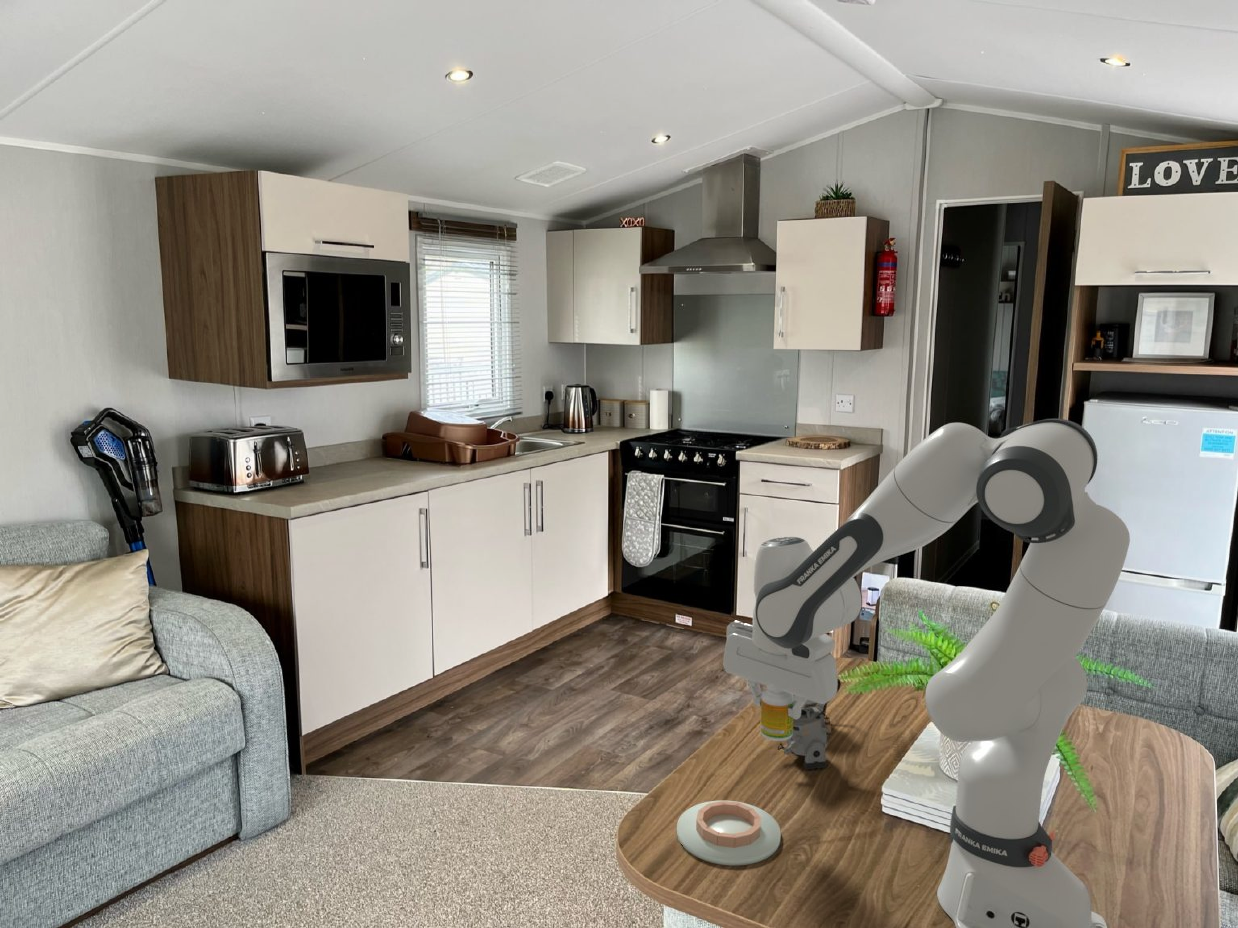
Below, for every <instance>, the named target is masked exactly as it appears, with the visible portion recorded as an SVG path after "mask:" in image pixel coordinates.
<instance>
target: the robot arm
mask: <svg viewBox="0 0 1238 928" xmlns="http://www.w3.org/2000/svg"><path fill="white" fill-rule="evenodd" d="M1097 465H1098V450H1097V446H1096V442H1095V440H1094V439H1093V437H1092V435H1091V434H1090V433H1089V432H1088V431H1087V430H1086V429H1085V428H1084V427H1082V426H1081V425H1080V424H1079V423H1077V422H1074V421H1071V420H1068V419H1064V418H1045V419H1042V420H1041V419H1040V420H1036V421H1033V422H1029V423H1025V424H1022V425H1019V426H1015V427H1011V428H1008V429H1005V430H1004V431H1003V432H1001V435H1000V436H999V438H993V437H990V436H988V435H987V434H986V433H985V432H983V431H982V430H980V429H979V428H977V427H976V426H973V425H971V424H968V423H964V422H949V423H947V424H944V425H943V426H941V427H939V428H937V429H936V430H934V431H933V432H932V433H930V434H929V435H928V436H927V437H926V438H924V439H923V440H922V441H920V442H919V443H917V445H916V446H914V448H912V449H911V450H910V451H909V452H908V453H907V454H906V455H905V456H904V457H903V458H902V459H901V460H900V461H899V462H898V464H896V466H895V467H894V468H893V469H892V470H891V471H890V472H889V473H888V474H887V476H886V477H885V478H884V479H883V480H882V481H881V482H880V484H878V486H877V487H875V489H874V490H873V491H872V492H871V494H870V495H869V496H868V497H867V498H866V499H865V500H864V501H863V502H862V504H861V505H860V506H859V507H857V509H856V510H855V511H853V513H852V514H851V515H850V516H849V517H848V518H847V519H846V520H845V521H844V523H843V524H841V526H840V527H838V528H837V529H836V530H835V531H834V532H832V534H831V535H830V536H829V537H828V538H826V539H825V540H824V541H823V542H822V543H821V544H820V545H819V546H818V547H817V548H816V549H815V550H813V549H812V548H811V546H810V544H809V543H808V541H807V540H805V539H803V538H801V537H797V536H784V537H777V538H772V539H768V540H765V541H764V542H763V543H761V544H760V546H759V548H758V550H757V553H756V557H755V564H754V572H753V573H754V574H753V592H754V593H753V594H754V596H755V597H754V598H755V605H754V607H753V609H752V610H753V612H752V624H751V623H745V622H743V621H740V620H734V621H731V622H730V623H729V624H728V625H727V626H726V642H725V646H724V653H723V662H722V666H723V668H724V670H725V672H726V673H728V674H730V675H733V676H736V677H739V678H742V679H745V680H747V686H748V689H749V690H750V692H751V695H752V696H753V697H752V700H753V701H752V703H753V704H752V705H753V706H757V707H759V708H761V696H762V692H763V691H762V688H761V686H760V685H764V686H765V687H766V686H768V684H769V683H770V684H773V685H775V686H776V688H777V689H778V690H781V691H784V692H787V693H790V694H793V695H794V700H795V701H797V703H796V704H795V705H794V704H793V705H792V706H790V707H789V708H788V717H790V718H793V719H796V720H797V719H798V718H800V716H801V707H802V706H803V705H804V704H805V702H806V701H807V700H811V701H814V702H817V703H819V704H825V703H827V702H828V701H829V702H831V701H832V700H833V699H834V698H835V697H836V695H837V694H838V692H837V686H838V683H837V678H838V665H837V662H836V658H835V656H834V655H833V654H832V653H831V652H832V651H834V650H835V646H836V641H835V639H834V638H833V637H831V636H830V635H828V634H827V633H831V632H832V631H835V630H838V629H840V628H843V627H845V626H847V625H849V624H851V623H853V622H855V621H856V620H857V619H858V617H859V616H860V613H861V612H862V608H863V594H862V590H861V586H860V584H859V582H858V581H857V580H856V578H855V577H856V576H857V575H859V574H860V573H861V572H863V571H865V570H867V569H869V568H870V567H873V566H875V565H878V564H880V563H882V562H885V561H888V560H889V559H893V558H895V557H898V556H901V555H904V554H907V553H910V552H913V551H915V550H919V549H921V548H923V547H925V546H926V545H929V544H930V543H932V542H933V541H934V540H936V539H937V538H938V537H940V536H942V535H943V534H945V533H946V532H947V531H948V530H950V529H951V528H952V527H953V526H954V525H955V524H956V523H957V522H958V521H959V520H960V519H961V518H962V517H963V516H964V515H965V514H966V513H967V512H968V511H969V510H970V509H971V508H972V507H973V506H974V505H976V504H977V503H978V504H979V506H980V509H981V510H982V511H983V513H984V514H985V515H986V517H988V519H990V520H991V521H992V522H993V523H995V524H997V526H999V527H1001V528H1003V530H1006V531H1009V532H1010V533H1013V534H1014V535H1015V536H1016V537H1017V538H1019V539H1020V540H1021V541H1023V542H1025V543H1028V544H1029V545H1028V548H1027V550H1026V552H1025V554H1024V556H1023V557H1022V560H1021V561H1020V564H1019V566H1018V568H1017V571H1016V572H1015V574H1014V576H1013V578H1012V580H1011V583H1010V584H1009V586H1008V587H1007V590H1006V592H1005V593H1004V596H1003V598H1002V600H1001V601H1000V604H998V607H997V608H996V610H995V611H994V612H993V614H992V615H991V616H990V617H989V619H988V620H987V622H985V623H984V625H983V626H982V627H981V628H980V630H979V631H978V632H977V633H976V634H975V635H974V637H973V638H972V639H971V640H969V642H968V644H967V645H966V646H965V647H964V648H963V649H962V651H961V652H959V654H957V656H956V657H955V658H953V660H952V661H950V662H949V663H948V664H947V665H946V666H944V667H943V668H942V669H940V670H939V671H937V672H936V673H935V674H933V675H932V676H931V677H930V678H929V680H928V682H927V685H926V688H925V695H924V697H925V699H924V700H925V706H926V711H927V713H928V716H929V718H930V720H931V722H932V723H933V725H934V726H935V728H936V729H937V730H938V731H939V732H940V733H941V734H942V735H943V736H945V737H946V738H948V739H949V740H951V741H953V742H958V743H970V744H969V745H968V746H967V747H966V748H965V750H964V751H963V753H962V754H961V757H960V759H959V763H958V770H957V771H958V772H957V785H956V786H957V787H956V799H955V805H953V806H952V811H951V815H950V823H949V834H950V835H949V841H950V843H951V845H950V850H949V856H948V861H947V864H946V868H945V871H944V873H943V877H942V879H941V882H940V884H939V885H938V888H937V892H936V893H937V894H936V895H937V900H938V902H939V904H940V906H941V908H942V909H943V911H944V912H945V914H947V915H948V916H949V917H950V919H951V920H952V921H953V923H954V926H955V928H1108V926H1107V925H1108V924H1107V923H1106V921H1105V919H1104V917H1103V916H1101V914H1099V913H1097V912H1094V911H1093V910H1092V902H1091V898H1090V894H1089V891H1088V888H1087V886H1086V884H1084V882H1083V881H1082V880H1081V879H1080V878H1078V877H1077V876H1076V874H1074V873H1073V872H1072V871H1071V870H1070V869H1069V868H1068V867H1067V866H1066V865H1065V864H1064V863H1063V862H1062V861H1061V860H1060V859H1059V858H1058V857H1057V856H1056V855H1055V854H1054V853H1053V852H1052V851H1053V842H1054V839H1055V834H1056V833H1055V829H1052V830H1051V832H1050V833H1049V834H1048V833H1047V832H1046V830H1045V828H1044V827H1043V826H1042V825H1041V822H1040V814H1041V813H1040V811H1041V803H1042V795H1043V787H1044V781H1045V777H1046V776H1045V775H1046V772H1047V768H1048V766H1049V763H1050V761H1051V758H1052V756H1053V752H1054V750H1055V748H1056V747H1057V743H1058V741H1059V739H1060V736H1061V734H1062V731H1063V730H1064V728H1065V726H1066V724H1067V722H1068V720H1069V718H1071V715H1072V714H1073V713H1074V712H1075V710H1076V709H1077V708H1078V707H1079V705H1081V703H1082V702H1083V701H1084V699H1085V697H1086V696H1087V691H1088V679H1087V674H1086V671H1085V668H1084V666H1083V665H1082V663H1081V662H1080V660H1079V658H1078V657H1077V656H1076V655H1077V654H1078V653H1079V652H1080V651H1081V649H1082V648H1083V647H1084V646H1085V643H1086V641H1087V639H1088V638H1089V636H1090V635H1091V632H1092V630H1093V628H1094V627H1095V625H1096V623H1097V622H1098V620H1099V618H1100V616H1101V614H1102V613H1103V612H1104V609H1105V607H1106V605H1107V603H1108V602H1109V600H1110V598H1111V596H1112V594H1113V592H1114V589H1115V587H1116V586H1117V584H1118V583H1117V582H1118V580H1119V578H1120V576H1121V573H1122V570H1123V568H1124V565H1125V561H1126V558H1127V555H1128V552H1129V548H1130V542H1131V540H1130V539H1131V538H1130V532H1129V529H1128V527H1127V525H1126V523H1125V522H1124V521H1123V520H1122V519H1121V517H1119V516H1118V515H1117V514H1116V513H1114V512H1113V511H1112V510H1111V509H1109V508H1107V507H1104V506H1102V505H1101V504H1097V503H1096V502H1095V501H1094V500H1093V499H1092V498H1091V497H1090V495H1089V493H1088V492H1087V491H1086V487H1087V486H1088V485H1089V483H1091V481H1092V480H1093V479H1094V478H1093V477H1094V475H1095V473H1096V470H1097V468H1098V467H1097ZM1030 538H1031V539H1030ZM831 699H832V700H831ZM829 702H828V703H829ZM828 703H827V704H828Z"/></svg>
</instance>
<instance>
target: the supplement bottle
mask: <svg viewBox="0 0 1238 928" xmlns="http://www.w3.org/2000/svg"><path fill="white" fill-rule="evenodd" d="M793 704H794V696H793V694H790V693H787V692H784V691H781V690H778V689H777V688H776V686H775V685H773V684H770V683H769V684H768V686H766V685H765V689H764V690H763V691H762V696H761V707H760V728H759V729H760V730H759V731H760V734H761V736H763V738H765V739H766V740H770V741H774V742H784V741H787V740H788V739H790V738H791V737H792V735H793V718H790V717H788V708H789V707H790V706H792V705H793Z"/></svg>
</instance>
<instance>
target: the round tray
mask: <svg viewBox="0 0 1238 928" xmlns="http://www.w3.org/2000/svg"><path fill="white" fill-rule="evenodd" d="M781 835H782V834H781V828H780V825H779V823H778V821H776V818H774V817H773V816H772V815H771V814H769V812H766V810H763V809H762V808H760V807H757V806H755V805H753V804H749V803H746V802H743V801H734V800H710V801H705V802H701V803H698V804H695V805H694V806H691V807H689V808H688V809H686V810H685V811H684V812H682V814H681V815H680V816H679V818H678V821H677V823H676V836H678V837H677V839H678V841H679V843H680V845H681V844H682V845H683V846H682V845H681V846H682V847H683V848H684V849H685V850H686V851H687V852H688V853H690V854H691V855H692V856H694V857H696V858H698V859H701V860H703V861H706V862H708V863H711V864H716V865H722V866H732V867H733V866H747V865H753V864H756V863H760V862H761V861H765V860H767V859H768V858H770V857H771V856H772V855H774V854H775V853H776V852H777V850H778V849H779V847H780V845H781V838H782V837H781Z"/></svg>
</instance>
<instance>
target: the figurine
mask: <svg viewBox="0 0 1238 928" xmlns="http://www.w3.org/2000/svg"><path fill="white" fill-rule="evenodd" d="M793 696H794V695H793ZM796 703H797V701H795V700H794V705H795V704H796ZM818 704H819V703H817V702H814V701H811V700H807V701H806V702H805V704H804V705H803V706H802V707H801V716H800V718H798V719H797V720H796V719H793V735H792V737H791V738H790V739H788V740H786V745H787V746H786V747H785V746H784V745H783V744H782V742H780V743H779V745H778V746H777V751H779V750H783V753H784V755H786V756H790V755H791V753H793V754H794V755H798V756H804V760H803V763H802V766H803V767H804V769H805V770H806V771H807V772H808V771H810V770H811V771H813V770H815V769H818V770H820V769H825V768H827V767H828V761H827V755H826V748H827V747H828V745H829V743H828V742H830V740H829V736H830V735H832V734H833V732H832V726H831V720H830V717H829V716H827V714H826V713H825V714H823V713H821V712H820V711H819V710H818V709H817V708H816V707H817V706H818ZM824 715H825V719H824Z"/></svg>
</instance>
